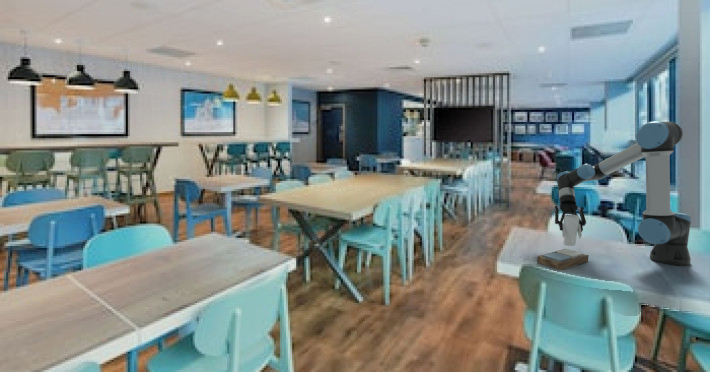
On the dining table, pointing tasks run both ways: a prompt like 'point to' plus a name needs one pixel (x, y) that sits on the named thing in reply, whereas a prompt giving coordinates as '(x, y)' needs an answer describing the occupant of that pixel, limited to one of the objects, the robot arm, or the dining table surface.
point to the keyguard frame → (563, 264)
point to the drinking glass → (571, 229)
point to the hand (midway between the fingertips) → (572, 236)
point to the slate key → (557, 257)
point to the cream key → (570, 253)
